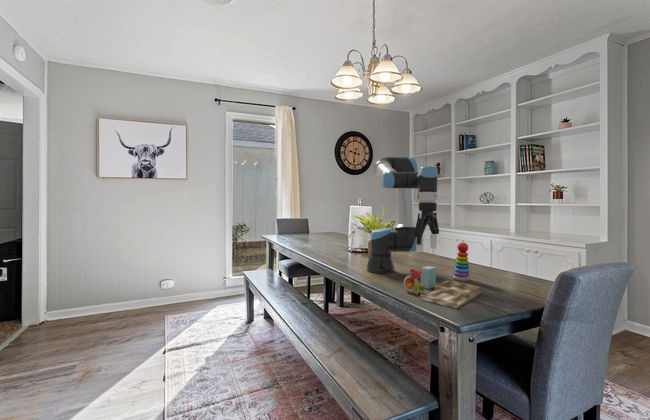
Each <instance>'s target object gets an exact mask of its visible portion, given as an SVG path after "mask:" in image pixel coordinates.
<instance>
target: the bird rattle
mask: <svg viewBox="0 0 650 420" xmlns="http://www.w3.org/2000/svg"><path fill="white" fill-rule="evenodd" d="M409 271H410V274H409V275H406V276H405V278H404V279H403V287H404V288H405V290H406V293H409V292H410V293H413V292H415V295H416V296H418V295H419V293H420V292H422V293H424V292H425V289H426V288H425V286H423V285H421V284H420V281H419V279H421V273H422V271H421V270H416V269H415V268H413V269H412V268H410V269H409Z"/></svg>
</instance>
